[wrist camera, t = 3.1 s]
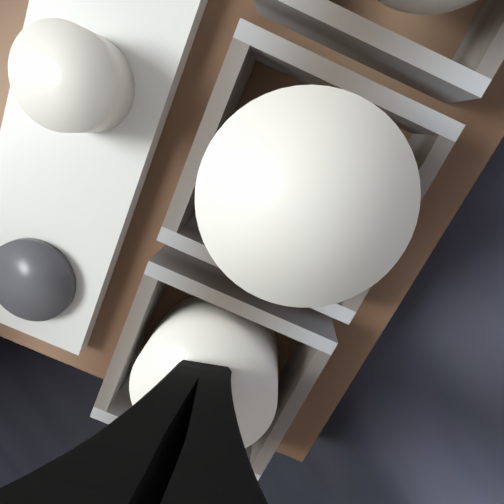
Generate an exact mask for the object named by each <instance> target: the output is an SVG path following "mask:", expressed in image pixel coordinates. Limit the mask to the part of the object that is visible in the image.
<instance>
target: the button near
mask: <svg viewBox="0 0 504 504" xmlns="http://www.w3.org/2000/svg"><path fill="white" fill-rule="evenodd" d="M377 1H379V2H381V3H382V4H384V5H386V6H388V7H390V8H393V9H395V10H398V11H401V12H406V13H410V14H420V15H431V14H441V13H446V12H450V11H454V10H457V9H460V8H463V7H465V6H467V5H469V4H471V3H474V2H476V1H478V0H377Z"/></svg>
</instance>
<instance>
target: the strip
mask: <svg viewBox="0 0 504 504" xmlns="http://www.w3.org/2000/svg"><path fill="white" fill-rule="evenodd" d="M207 1H208V0H29V3H28V8H27V12H26V17H25V21H24V26H23V30H22V31H21V32H20V33H19V34H18V35H17V37H16V39H15V40H14V42H13V44H12V47H11V49H10V53H9V58H8V77H9V82H10V89H9V93H8V98H7V102H6V107H5V111H4V116H3V120H2V125H1V129H0V323H2V324H4V325H7V326H9V327H11V328H14V329H16V330H18V331H21V332H23V333H26V334H28V335H30V336H33V337H35V338H38V339H40V340H42V341H45V342H47V343H49V344H52V345H54V346H57V347H59V348H61V349H64V350H66V351H69V352H71V353H73V354H76V355H78V356H79V354H80V353H81V352H82V351H83V350H84V349H85V348H86V347H87V345H88V342H89V339H90V336H91V334H92V331H93V328H94V325H95V322H96V319H97V316H98V314H99V311H100V308H101V305H102V302H103V299H104V296H105V293H106V291H107V288H108V285H109V282H110V279H111V276H112V273H113V271H114V268H115V265H116V262H117V259H118V256H119V253H120V251H121V248H122V245H123V242H124V239H125V236H126V233H127V230H128V228H129V225H130V222H131V219H132V216H133V213H134V210H135V208H136V205H137V202H138V199H139V196H140V193H141V190H142V187H143V185H144V182H145V179H146V176H147V173H148V170H149V167H150V165H151V162H152V159H153V156H154V153H155V150H156V147H157V145H158V142H159V139H160V136H161V133H162V130H163V127H164V124H165V122H166V119H167V116H168V113H169V110H170V107H171V104H172V102H173V99H174V96H175V93H176V90H177V87H178V84H179V81H180V79H181V76H182V73H183V70H184V67H185V64H186V61H187V59H188V56H189V53H190V50H191V47H192V44H193V41H194V39H195V36H196V33H197V30H198V27H199V24H200V21H201V18H202V16H203V13H204V10H205V7H206V4H207Z"/></svg>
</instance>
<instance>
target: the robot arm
mask: <svg viewBox="0 0 504 504" xmlns="http://www.w3.org/2000/svg"><path fill="white" fill-rule="evenodd" d="M231 374H232V371H231V370H230V368H229V367H225V366H219V365H213V364H207V363H201V362H194V361H188V360H182V361H180V362H179V363H178V364H177V365H176V366H175V367H174V368H173V369H172V370H171V371H170V372H169V373H168V374H167V375H166V376H165V377H164V378H163V379H162V380H161V381H160V382H159V383H158V384H157V385H155V386H154V387H153V388H152V389H151V390H150V391H149V392H148V393H146V394H145V395H144V396H143V397H142V398H141V399H140V400H139V401H137V402H136V403H135V404H134V405H133V406H131V407H130V408H129V409H128V410H126V411H125V412H124V413H122V414H121V415H120V416H119V417H117V418H116V419H115V420H114V421H112V422H111V423H110V424H108V425H107V426H106V427H104V428H103V429H101V430H100V431H99V432H97V433H96V434H94V435H93V436H91V437H90V438H89V439H87V440H85V441H84V442H82V443H81V444H79V445H78V446H76V447H75V448H73V449H72V450H70V451H68V452H67V453H65V454H63V455H62V456H60V457H58V458H56V459H55V460H53V461H51V462H49V463H47V464H46V465H44V466H42V467H40V468H38V469H37V470H35V471H33V472H31V473H29V474H28V475H26V476H24V477H22V478H20V479H18V480H16V481H14V482H12V483H10V484H8V485H5V486H3V487H1V488H0V504H268V503H267V501H266V499H265V497H264V494H263V492H262V490H261V488H260V486H259V483H258V481H257V479H256V476H255V474H254V471H253V469H252V466H251V464H250V461H249V458H248V455H247V452H246V449H245V446H244V443H243V440H242V437H241V433H240V430H239V426H238V422H237V417H236V413H235V409H234V404H233V397H232V390H231Z"/></svg>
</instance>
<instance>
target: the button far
mask: <svg viewBox="0 0 504 504" xmlns="http://www.w3.org/2000/svg"><path fill="white" fill-rule="evenodd" d="M182 360H188V361H194V362H201V363H207V364H213V365H219V366H225V367H229V368H230V370H231V371H232V374H231V390H232V397H233V404H234V409H235V413H236V417H237V422H238V426H239V430H240V433H241V437H242V440H243V443H244V446H245V448H247V447H249V446H250V445H252V444H253V443H255V442H256V441H257V440H258V439H259V438H261V437H262V435H263V434H264V433H265V432H266V431H267V429H268V428H269V426H270V425H271V423H272V421H273V419H274V416H275V413H276V409H277V402H278V364H279V349H278V343H277V339H276V336H275V333H274V331H273V330H272V329H269V328H267V327H265V326H262V325H260V324H258V323H256V322H253V321H251V320H249V319H246V318H244V317H242V316H239V315H237V314H235V313H233V312H230V311H228V310H226V309H223V308H221V307H219V306H216V305H214V304H212V303H209V302H207V301H205V300H203V299H200V298H198V297H196V296H194V297H190V298H188V299H185V300H183V301H181V302H180V303H178V304H176V305H175V306H174V307H173V308H171V309H170V310H169V311H168V312H167V313H166V314H165V316H164V317H163V319H162V320H161V322H160V323H159V325H158V326H157V328H156V329H155V331H154V332H153V334H152V336H151V337H150V339H149V340H148V342H147V343H146V345H145V346H144V348H143V350H142V351H141V353H140V354H139V356H138V357H137V359H136V361H135V363H134V365H133V367H132V371H131V374H130V380H129V393H130V399H131V402H132V406H133V405H134V404H135V403H136V402H137V401H139V400H140V399H141V398H142V397H143V396H144V395H145V394H146V393H148V392H149V391H150V390H151V389H152V388H153V387H154V386H155V385H157V384H158V383H159V382H160V381H161V380H162V379H163V378H164V377H165V376H166V375H167V374H168V373H169V372H170V371H171V370H172V369H173V368H174V367H175V366H176V365H177V364H178V363H179V362H180V361H182Z"/></svg>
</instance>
